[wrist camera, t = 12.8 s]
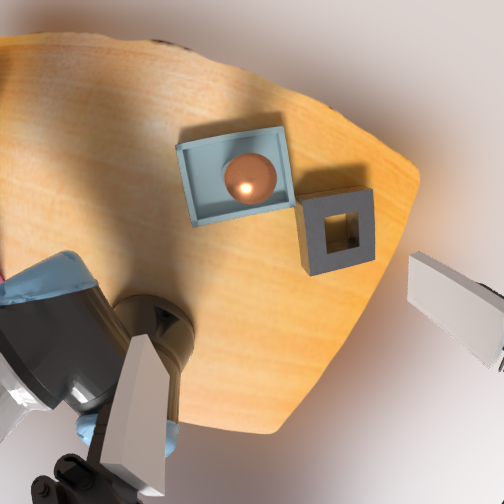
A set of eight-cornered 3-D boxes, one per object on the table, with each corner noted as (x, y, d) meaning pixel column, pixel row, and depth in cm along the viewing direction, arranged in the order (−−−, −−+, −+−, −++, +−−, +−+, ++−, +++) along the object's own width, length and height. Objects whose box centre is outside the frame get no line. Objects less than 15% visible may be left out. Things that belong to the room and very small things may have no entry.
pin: (222, 194, 36) (230, 209, 24) (215, 161, 35) (220, 158, 22) (255, 187, 37) (280, 199, 24) (249, 154, 35) (272, 148, 23)
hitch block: (301, 266, 42) (310, 276, 39) (293, 196, 39) (301, 200, 35) (362, 251, 43) (375, 259, 40) (359, 185, 40) (372, 189, 36)
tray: (193, 223, 38) (192, 227, 36) (177, 146, 34) (175, 145, 32) (290, 203, 39) (295, 206, 37) (278, 127, 35) (283, 125, 33)
